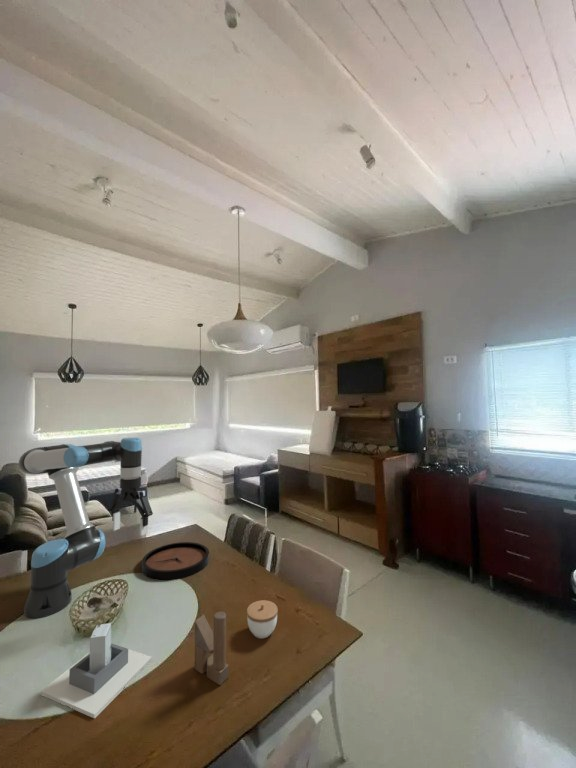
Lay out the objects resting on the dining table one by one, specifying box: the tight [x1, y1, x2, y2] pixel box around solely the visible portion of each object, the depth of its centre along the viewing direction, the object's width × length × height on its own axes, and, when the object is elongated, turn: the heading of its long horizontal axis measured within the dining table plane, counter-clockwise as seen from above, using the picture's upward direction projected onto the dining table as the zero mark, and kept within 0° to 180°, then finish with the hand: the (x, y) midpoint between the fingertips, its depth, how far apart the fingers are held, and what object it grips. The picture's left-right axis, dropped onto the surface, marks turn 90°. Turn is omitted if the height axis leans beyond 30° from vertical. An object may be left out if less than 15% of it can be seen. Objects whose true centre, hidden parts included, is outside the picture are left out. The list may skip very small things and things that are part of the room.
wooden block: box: [194, 611, 229, 686], centre depth 98 cm, size 4×11×18 cm, turn 57°
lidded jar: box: [246, 599, 279, 639], centre depth 115 cm, size 11×11×9 cm
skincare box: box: [89, 622, 112, 675], centre depth 97 cm, size 6×4×12 cm
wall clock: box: [141, 541, 210, 582], centre depth 164 cm, size 31×4×31 cm
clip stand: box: [40, 642, 153, 720], centre depth 97 cm, size 20×20×5 cm
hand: (129, 531), depth 131 cm, fingers open, 13 cm apart
